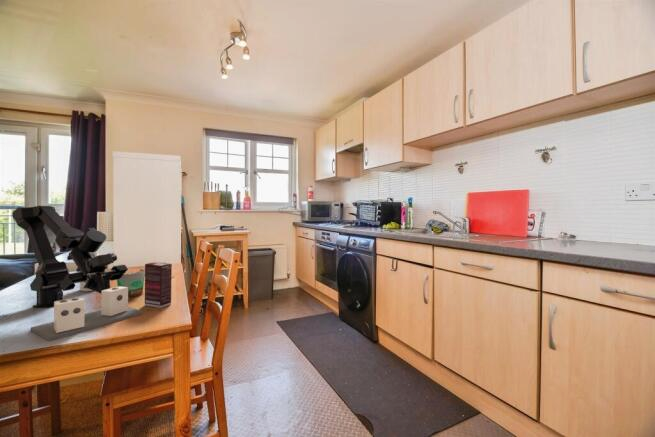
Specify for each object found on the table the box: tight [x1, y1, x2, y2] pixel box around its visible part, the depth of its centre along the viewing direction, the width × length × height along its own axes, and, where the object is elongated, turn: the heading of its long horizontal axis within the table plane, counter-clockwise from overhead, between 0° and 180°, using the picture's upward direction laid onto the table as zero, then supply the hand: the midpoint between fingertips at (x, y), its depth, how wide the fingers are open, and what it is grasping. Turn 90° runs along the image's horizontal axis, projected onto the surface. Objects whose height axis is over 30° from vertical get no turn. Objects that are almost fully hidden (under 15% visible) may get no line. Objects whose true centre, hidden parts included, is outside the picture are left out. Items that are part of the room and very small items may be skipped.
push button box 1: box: [100, 286, 129, 316], centre depth 95 cm, size 4×6×8 cm
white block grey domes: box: [53, 296, 85, 333], centre depth 82 cm, size 4×6×8 cm
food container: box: [116, 269, 145, 299], centre depth 118 cm, size 12×6×10 cm, turn 168°
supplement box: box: [144, 261, 173, 309], centre depth 107 cm, size 9×5×16 cm, turn 71°
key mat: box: [30, 306, 143, 342], centre depth 90 cm, size 24×13×1 cm, turn 152°
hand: (109, 295), depth 96 cm, fingers closed
